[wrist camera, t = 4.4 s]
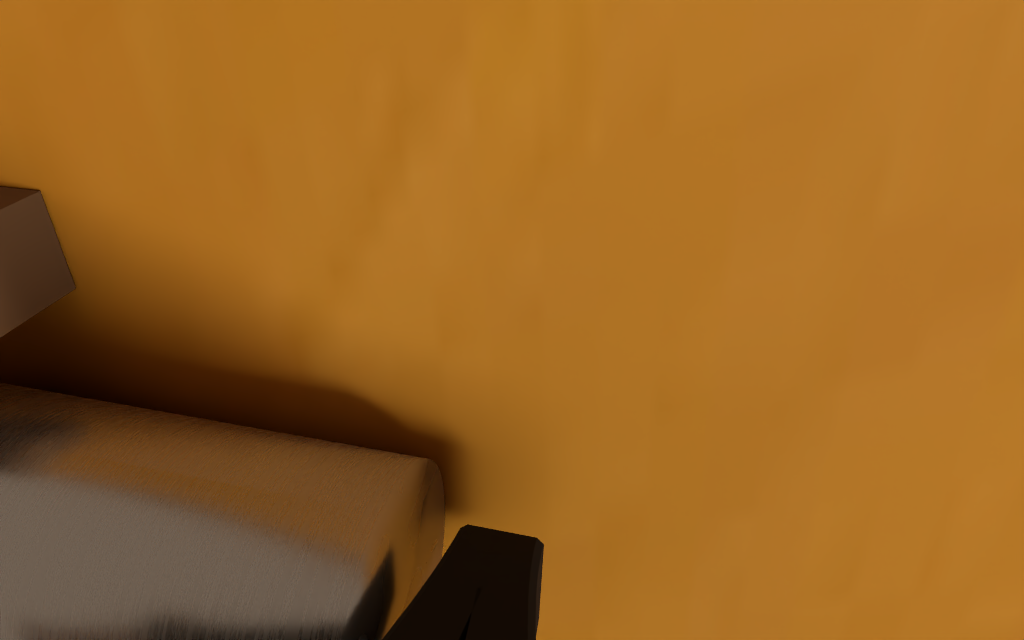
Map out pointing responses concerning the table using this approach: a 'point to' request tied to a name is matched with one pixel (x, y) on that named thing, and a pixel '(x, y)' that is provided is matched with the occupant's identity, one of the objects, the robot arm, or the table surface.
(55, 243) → the blocks
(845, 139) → the table surface
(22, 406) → the axle
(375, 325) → the table surface
